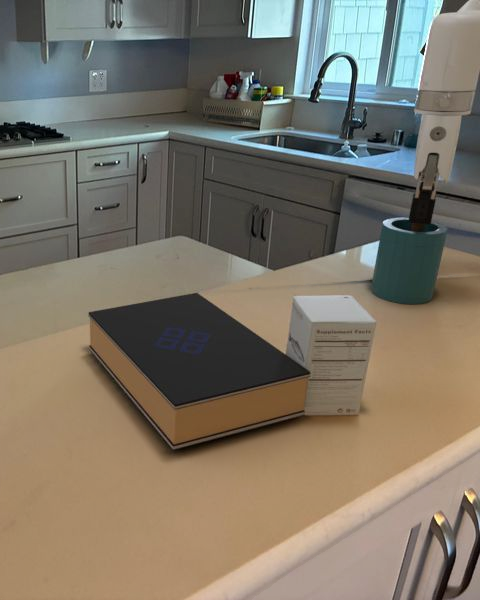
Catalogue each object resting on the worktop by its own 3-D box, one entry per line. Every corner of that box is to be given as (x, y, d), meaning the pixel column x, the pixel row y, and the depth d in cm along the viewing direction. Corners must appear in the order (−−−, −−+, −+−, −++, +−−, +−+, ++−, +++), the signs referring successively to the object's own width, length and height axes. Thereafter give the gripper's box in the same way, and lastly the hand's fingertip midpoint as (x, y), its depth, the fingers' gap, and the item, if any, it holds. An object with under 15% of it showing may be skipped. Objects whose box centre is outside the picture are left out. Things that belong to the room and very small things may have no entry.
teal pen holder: (410, 281, 110) (423, 216, 105) (444, 302, 101) (461, 232, 96) (360, 284, 109) (371, 219, 104) (390, 306, 100) (404, 236, 96)
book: (195, 332, 93) (197, 292, 91) (304, 421, 72) (311, 371, 69) (88, 353, 88) (88, 312, 85) (172, 456, 67) (175, 404, 64)
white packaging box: (280, 383, 80) (291, 294, 74) (338, 383, 79) (353, 293, 74) (297, 417, 73) (310, 320, 68) (360, 416, 72) (379, 320, 67)
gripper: (474, 109, 84) (446, 237, 92) (470, 97, 97) (445, 211, 105) (413, 108, 88) (390, 231, 95) (417, 96, 100) (396, 206, 108)
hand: (419, 220), depth 100 cm, fingers closed
